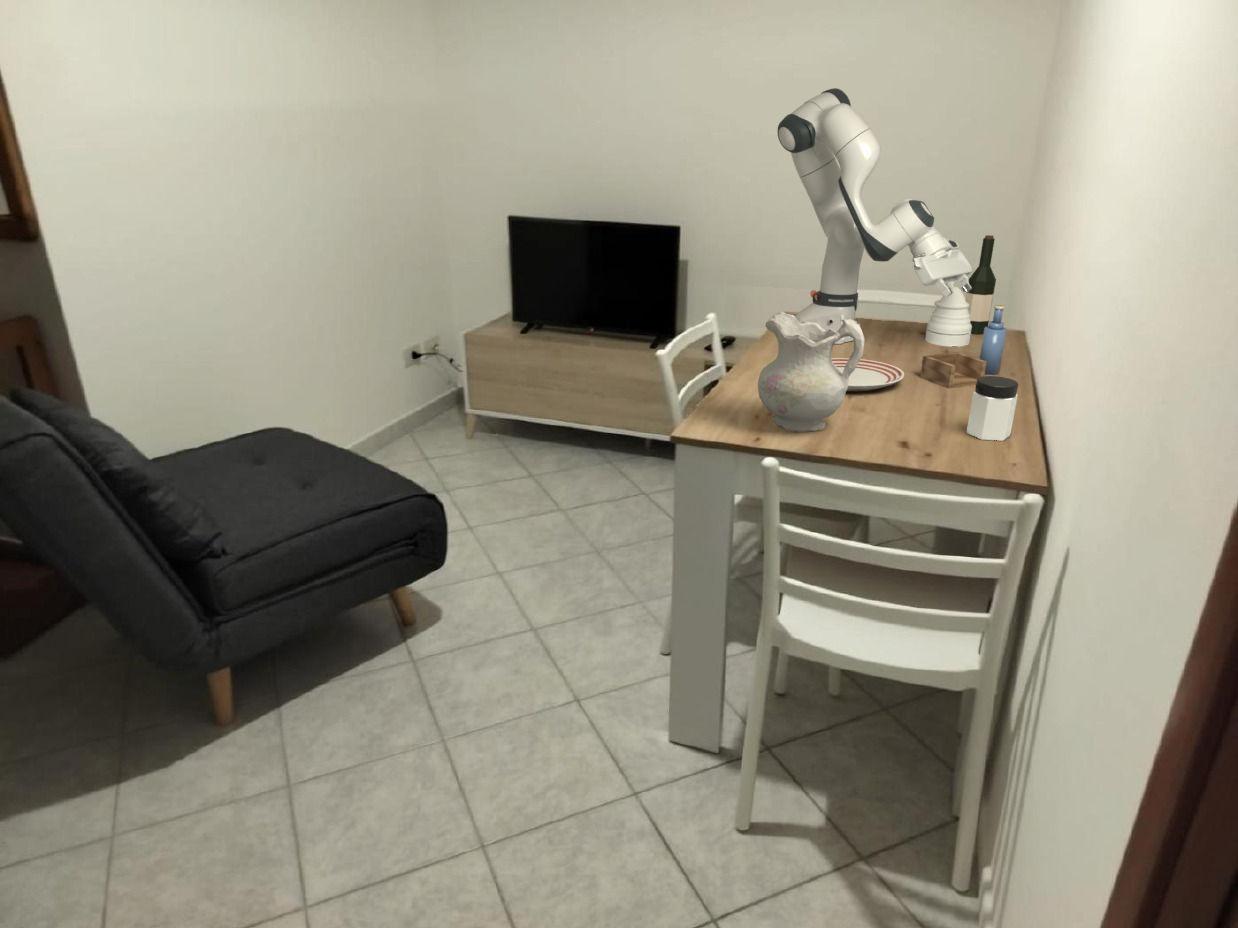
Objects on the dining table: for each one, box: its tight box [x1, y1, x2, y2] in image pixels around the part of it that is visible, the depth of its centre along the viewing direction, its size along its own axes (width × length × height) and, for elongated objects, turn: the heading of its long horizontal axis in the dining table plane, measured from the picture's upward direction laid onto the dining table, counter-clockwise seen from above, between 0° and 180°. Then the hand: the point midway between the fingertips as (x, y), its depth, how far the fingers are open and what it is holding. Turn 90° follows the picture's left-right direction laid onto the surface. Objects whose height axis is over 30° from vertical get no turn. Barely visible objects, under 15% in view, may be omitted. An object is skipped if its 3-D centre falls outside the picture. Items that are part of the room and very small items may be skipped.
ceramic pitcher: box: [757, 311, 865, 433], centre depth 182 cm, size 22×20×25 cm
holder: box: [920, 351, 987, 389], centre depth 217 cm, size 10×11×6 cm
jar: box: [966, 375, 1019, 442], centre depth 178 cm, size 9×8×12 cm
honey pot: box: [924, 280, 972, 347], centre depth 253 cm, size 13×13×18 cm
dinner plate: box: [831, 357, 905, 392], centre depth 217 cm, size 27×27×3 cm
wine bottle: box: [965, 234, 997, 336], centre depth 262 cm, size 8×8×30 cm
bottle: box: [978, 304, 1007, 376], centre depth 221 cm, size 5×5×18 cm
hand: (959, 293), depth 225 cm, fingers open, 8 cm apart
